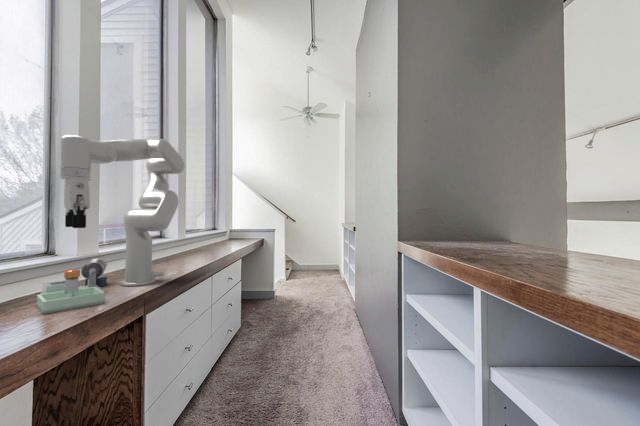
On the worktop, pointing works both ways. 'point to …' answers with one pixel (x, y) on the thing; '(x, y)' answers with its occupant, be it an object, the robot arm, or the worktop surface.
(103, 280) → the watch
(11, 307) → the worktop surface
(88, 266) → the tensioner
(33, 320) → the worktop surface
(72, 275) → the lock pin
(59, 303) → the tray
